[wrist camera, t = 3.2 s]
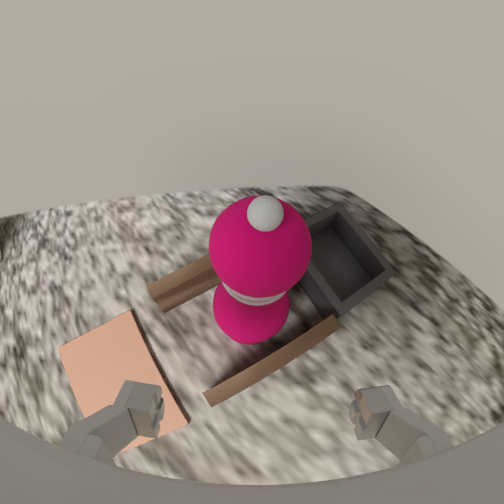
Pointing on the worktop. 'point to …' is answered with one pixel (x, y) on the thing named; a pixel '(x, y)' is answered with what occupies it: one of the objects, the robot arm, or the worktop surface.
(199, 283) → the walnut channel
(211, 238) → the pepper mill
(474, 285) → the worktop surface
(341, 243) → the box
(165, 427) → the terracotta board
